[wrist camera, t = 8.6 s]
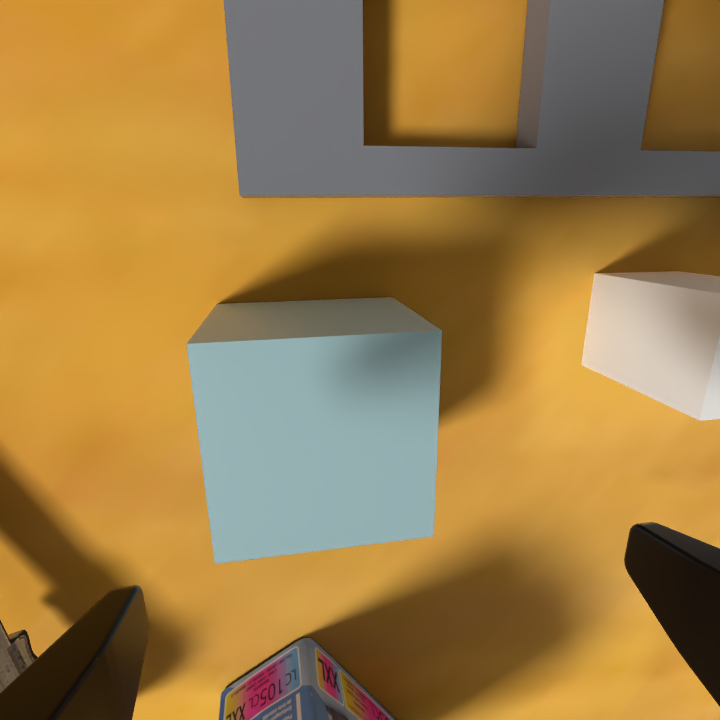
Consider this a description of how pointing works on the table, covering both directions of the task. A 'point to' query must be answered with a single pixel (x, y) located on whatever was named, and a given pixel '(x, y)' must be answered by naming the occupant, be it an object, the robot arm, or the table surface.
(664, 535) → the robot arm
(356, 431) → the housing
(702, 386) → the white rectangular prism
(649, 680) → the table surface
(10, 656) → the caliper
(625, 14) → the pin board
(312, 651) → the ink cartridge box
